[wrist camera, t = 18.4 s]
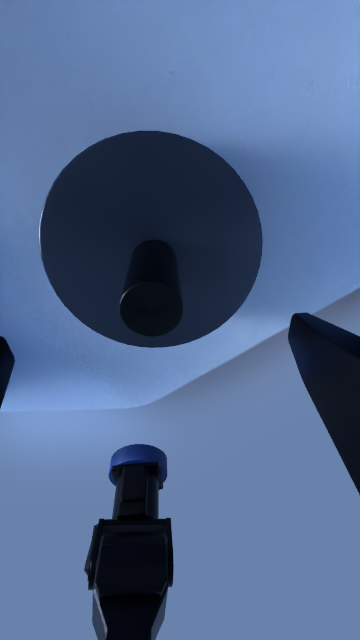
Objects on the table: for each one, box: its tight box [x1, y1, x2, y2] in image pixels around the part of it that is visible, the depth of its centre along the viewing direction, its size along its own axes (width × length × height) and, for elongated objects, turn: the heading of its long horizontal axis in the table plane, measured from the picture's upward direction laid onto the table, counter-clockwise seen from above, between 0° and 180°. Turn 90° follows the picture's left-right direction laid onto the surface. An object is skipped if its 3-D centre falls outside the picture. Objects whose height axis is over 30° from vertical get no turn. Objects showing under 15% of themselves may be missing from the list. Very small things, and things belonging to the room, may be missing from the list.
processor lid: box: [39, 131, 262, 348], centre depth 13 cm, size 11×11×6 cm
